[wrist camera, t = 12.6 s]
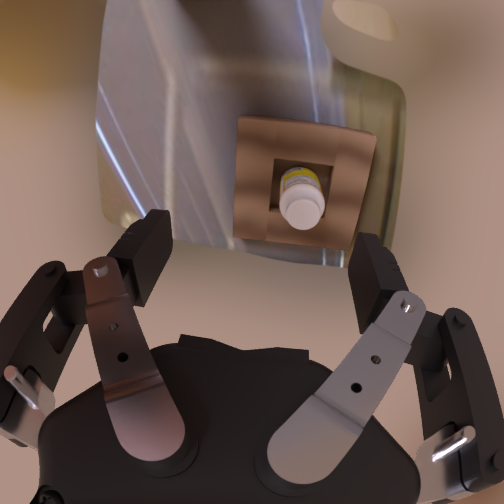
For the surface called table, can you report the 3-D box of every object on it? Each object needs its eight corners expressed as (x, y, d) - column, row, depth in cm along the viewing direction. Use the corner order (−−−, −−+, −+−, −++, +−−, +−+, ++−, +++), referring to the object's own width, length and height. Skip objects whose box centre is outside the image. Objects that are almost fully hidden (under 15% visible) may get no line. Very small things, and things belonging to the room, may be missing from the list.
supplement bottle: (305, 205, 43) (310, 243, 35) (273, 188, 42) (269, 222, 34) (326, 176, 40) (337, 208, 32) (292, 156, 39) (294, 184, 31)
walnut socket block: (241, 114, 37) (237, 118, 34) (370, 132, 36) (376, 137, 34) (235, 227, 47) (232, 237, 45) (345, 240, 47) (348, 250, 44)
